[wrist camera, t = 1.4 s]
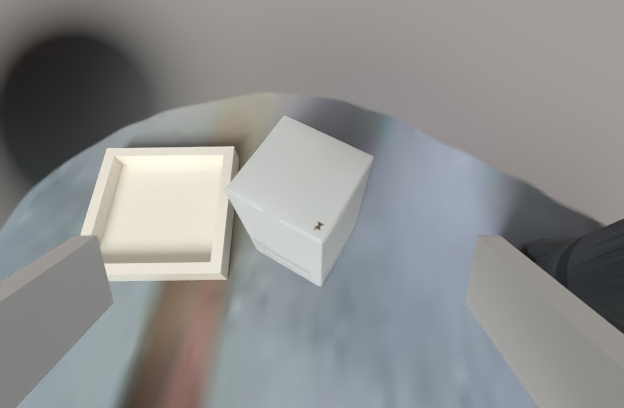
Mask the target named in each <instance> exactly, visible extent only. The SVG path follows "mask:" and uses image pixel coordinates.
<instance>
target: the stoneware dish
mask: <svg viewBox="0 0 624 408" xmlns="http://www.w3.org/2000/svg"><path fill="white" fill-rule="evenodd" d="M238 167H239V158H238V155H237V152H236V150H235V147H234V146H228V147H164V148H107V150H106V153H105V157H104V160H103V163H102V166H101V170H100V173H99V176H98V179H97V183H96V186H95V189H94V192H93V196H92V199H91V202H90V205H89V209H88V212H87V215H86V218H85V222H84V225H83V228H82V231H81V235H97V237H98V241H99V245H100V249H101V253H102V257H103V261H104V265H105V269H106V273H107V278H108V281H157V280H227V278H228V268H229V258H230V248H231V238H232V228H233V218H234V207H233V205H232V203H231V201H230V200H229V198H228V196H227V194H226V192H225V188H226V187H227V186H228V185H229V184H230V182H231V181H232V180H233V178H234V177H235V176H236V175H237V174H238Z"/></svg>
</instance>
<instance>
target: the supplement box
mask: <svg viewBox="0 0 624 408" xmlns="http://www.w3.org/2000/svg"><path fill="white" fill-rule="evenodd" d="M373 159H374V156H372V155H370V154H368V153H365V152H363V151H361V150H359V149H357V148H355V147H352V146H350V145H348V144H346V143H344V142H342V141H340V140H337V139H335V138H333V137H331V136H329V135H327V134H325V133H322V132H320V131H318V130H316V129H314V128H312V127H309V126H307V125H305V124H303V123H301V122H299V121H296V120H294V119H292V118H290V117H288V116H286V115H284V116H283V117H282V119H281V120H280V121H279V122H278V123H277V125H276V126H275V127H274V128H273V130H272V131H271V132H270V134H269V135H268V136H267V138H266V139H265V140H264V141H263V143H262V144H261V145H260V146H259V148H258V149H257V150H256V151H255V153H254V154H253V155H252V156H251V158H250V159H249V160H248V161H247V162H246V164H245V165H244V166H243V167H242V169H241V170H240V171H239V172H238V174H237V175H236V176H235V177H234V178H233V180H232V181H231V182H230V184H229V185H228V186H227V187H226V188H225V192H226V194H227V196H228V198H229V200H230V201H231V203H232V205H233V207H234V209H235V210H236V212H237V214H238V216H239V218H240V219H241V221H242V223H243V225H244V227H245V228H246V230H247V232H248V234H249V236H250V237H251V239H252V241H253V243H254V245H255V246H256V248H257V250H258V251H260V252H262V253H263V254H265V255H267V256H268V257H270V258H272V259H273V260H275V261H277V262H278V263H280V264H282V265H283V266H285V267H287V268H288V269H290V270H292V271H294V272H295V273H297V274H299V275H300V276H302V277H304V278H305V279H307V280H309V281H310V282H312V283H314V284H316V285H317V286H319V287H321V286H322V284H323V283H324V281H325V279H326V278H327V276H328V274H329V272H330V270H331V269H332V267H333V265H334V263H335V262H336V260H337V258H338V257H339V255H340V253H341V251H342V250H343V248H344V246H345V244H346V243H347V241H348V239H349V237H350V236H351V234H352V232H353V230H354V228H355V225H356V222H357V218H358V215H359V211H360V207H361V203H362V199H363V196H364V192H365V188H366V185H367V181H368V177H369V174H370V170H371V167H372V163H373Z"/></svg>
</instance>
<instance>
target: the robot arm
mask: <svg viewBox="0 0 624 408" xmlns="http://www.w3.org/2000/svg"><path fill="white" fill-rule="evenodd" d="M113 303H114V302H113V298H112V294H111V290H110V286H109V282H108V278H107V273H106V269H105V265H104V261H103V257H102V253H101V249H100V245H99V241H98V237H97V235H75V236H73V237H72V238H70V239H69V240H67V241H65V242H64V243H62V244H61V245H59V246H57V247H56V248H54V249H53V250H51V251H49V252H48V253H46V254H45V255H43V256H41V257H40V258H38V259H36V260H35V261H33V262H32V263H30V264H28V265H27V266H25V267H24V268H22V269H20V270H19V271H17V272H16V273H14V274H12V275H11V276H9V277H7V278H6V279H4V280H3V281H1V282H0V408H16V407H17V406H18V405H19V403H20V402H21V401H22V400H23V399H24V398H25V397H26V396H27V395H28V394H29V393H30V392H31V391H32V389H33V388H34V387H35V386H36V385H37V384H38V383H39V382H40V381H41V380H42V379H43V378H44V377H45V376H46V374H47V373H48V372H49V371H50V370H51V369H52V368H53V367H54V366H55V365H56V364H57V363H58V362H59V361H60V359H61V358H62V357H63V356H64V355H65V354H66V353H67V352H68V351H69V350H70V349H71V348H72V347H73V345H74V344H75V343H76V342H77V341H78V340H79V339H80V338H81V337H82V336H83V335H84V334H85V333H86V332H87V330H88V329H89V328H90V327H91V326H92V325H93V324H94V323H95V322H96V321H97V320H98V319H99V318H100V316H101V315H102V314H103V313H104V312H105V311H106V310H107V309H108V308H109V307H110V306H111V305H112V304H113ZM465 303H466V305H467V306H468V308H469V309H470V310H471V312H472V313H473V315H474V316H475V318H476V319H477V320H478V322H479V323H480V325H481V326H482V328H483V329H484V330H485V332H486V333H487V335H488V336H489V338H490V339H491V340H492V342H493V343H494V345H495V346H496V348H497V349H498V350H499V352H500V353H501V355H502V356H503V358H504V359H505V360H506V362H507V363H508V365H509V366H510V368H511V369H512V370H513V372H514V373H515V375H516V376H517V378H518V379H519V381H520V382H521V383H522V385H523V386H524V388H525V389H526V391H527V392H528V393H529V395H530V396H531V398H532V399H533V401H534V402H535V403H536V405H537V406H538V408H624V219H622V220H620V221H617V222H615V223H613V224H610V225H608V226H606V227H604V228H601V229H599V230H597V231H595V232H593V233H590V234H588V235H586V236H584V237H581V238H557V239H542V240H537V241H533V242H530V243H527V244H525V245H523V246H521V247H519V248H517V249H516V248H515V247H514V246H513V245H511V244H510V243H509V242H508V241H506V240H505V239H504V238H503V237H501V236H500V235H477V241H476V246H475V252H474V257H473V263H472V268H471V274H470V279H469V285H468V290H467V296H466V301H465Z"/></svg>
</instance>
